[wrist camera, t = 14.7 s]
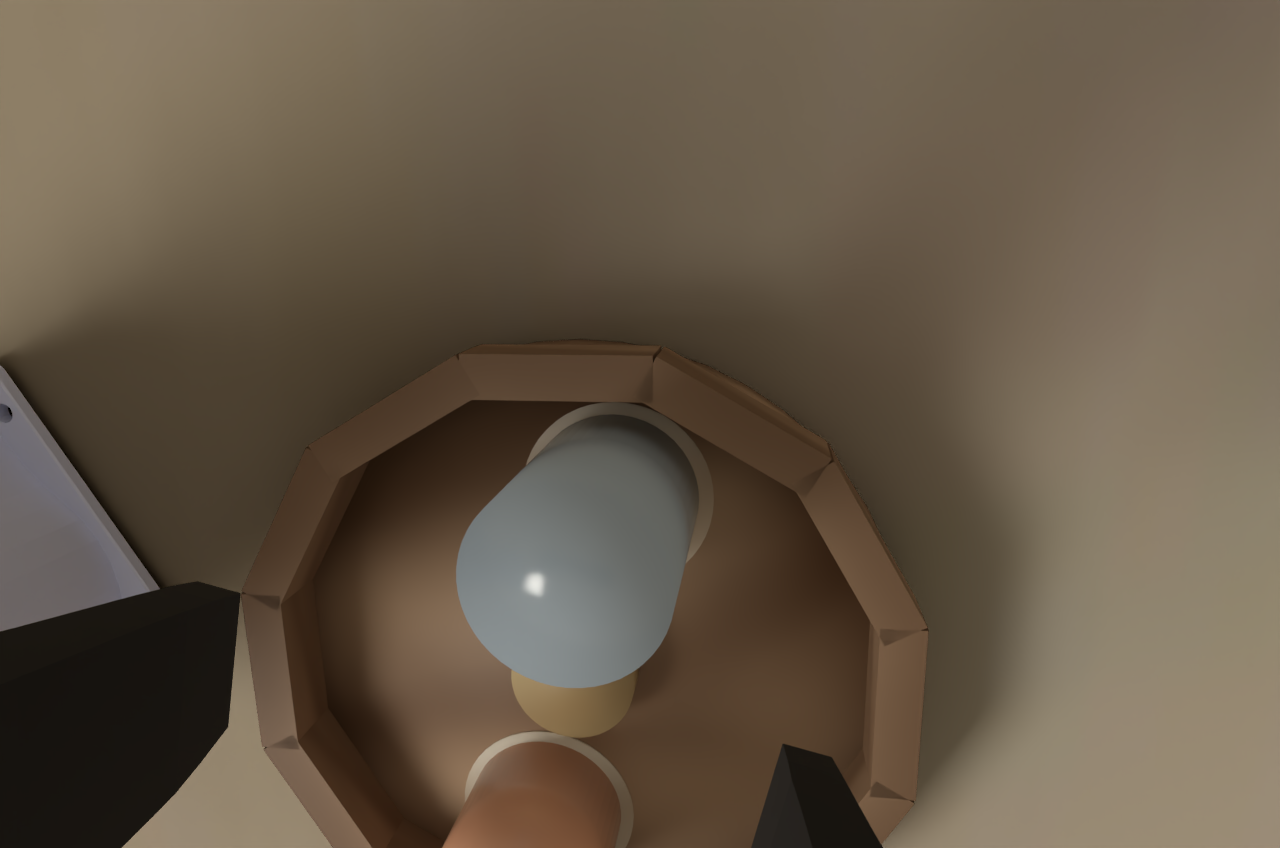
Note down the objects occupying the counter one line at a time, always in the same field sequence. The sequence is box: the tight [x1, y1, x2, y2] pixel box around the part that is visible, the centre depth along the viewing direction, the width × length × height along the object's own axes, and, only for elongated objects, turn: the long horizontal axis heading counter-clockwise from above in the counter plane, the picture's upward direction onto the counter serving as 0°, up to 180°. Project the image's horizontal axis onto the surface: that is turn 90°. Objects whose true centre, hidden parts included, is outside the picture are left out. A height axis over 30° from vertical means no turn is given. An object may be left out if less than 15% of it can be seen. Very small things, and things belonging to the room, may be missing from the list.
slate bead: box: [456, 414, 699, 688], centre depth 17 cm, size 4×4×5 cm
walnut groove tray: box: [241, 339, 929, 848], centre depth 20 cm, size 16×16×2 cm
